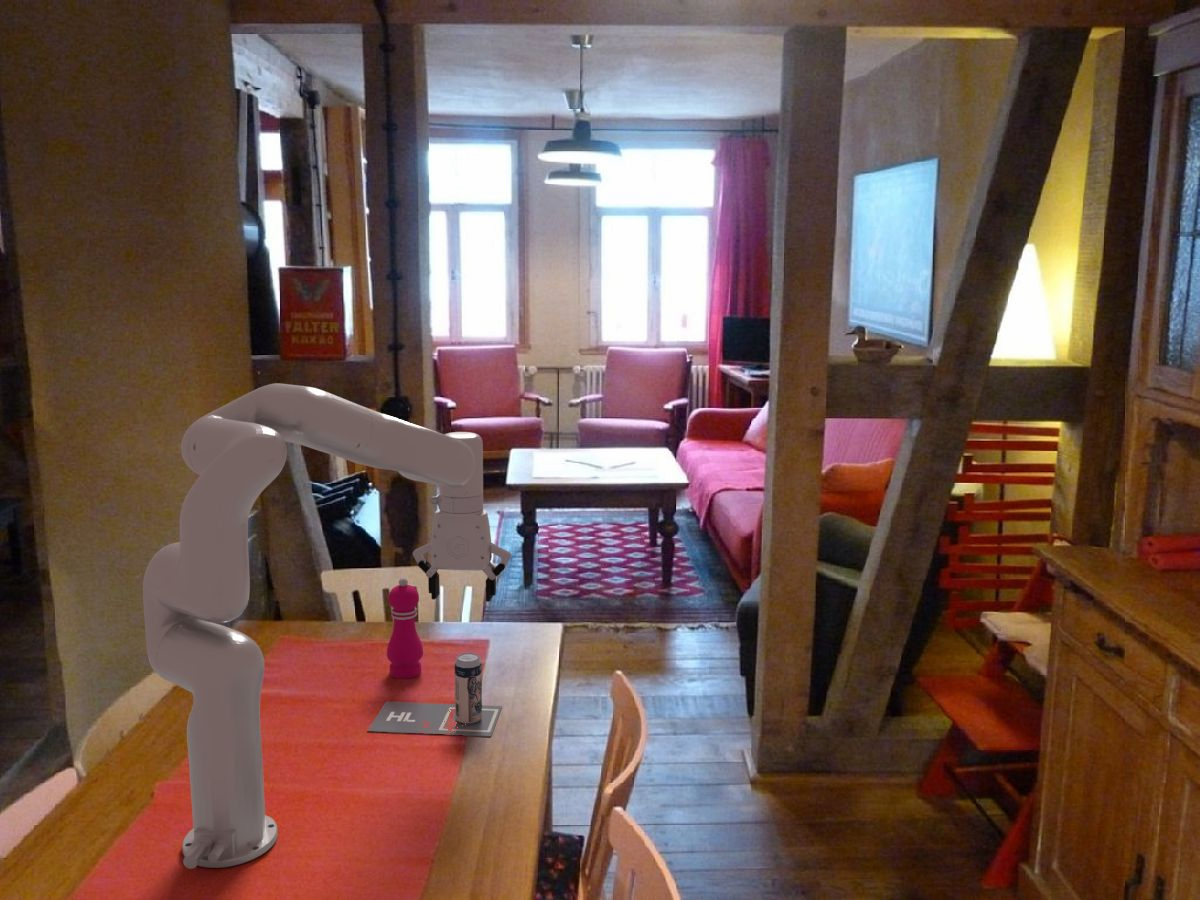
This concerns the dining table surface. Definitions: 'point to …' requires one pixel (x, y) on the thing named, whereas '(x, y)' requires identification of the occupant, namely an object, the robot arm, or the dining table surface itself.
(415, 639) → the pepper mill
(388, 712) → the slate board
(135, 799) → the dining table surface
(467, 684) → the beer can
